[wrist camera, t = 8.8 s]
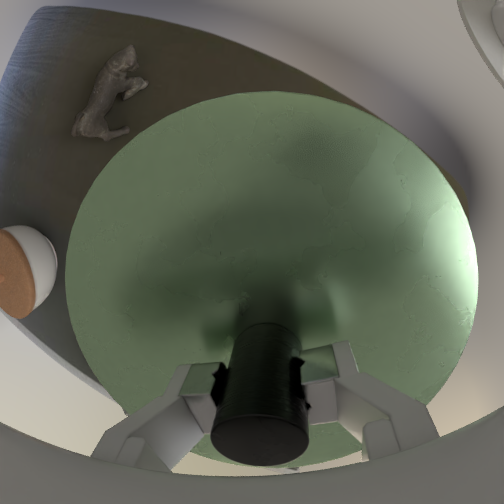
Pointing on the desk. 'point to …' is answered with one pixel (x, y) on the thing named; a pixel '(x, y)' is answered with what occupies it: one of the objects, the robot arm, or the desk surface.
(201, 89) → the desk surface
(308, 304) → the tin lid
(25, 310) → the lidded bowl
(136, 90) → the dog figurine
